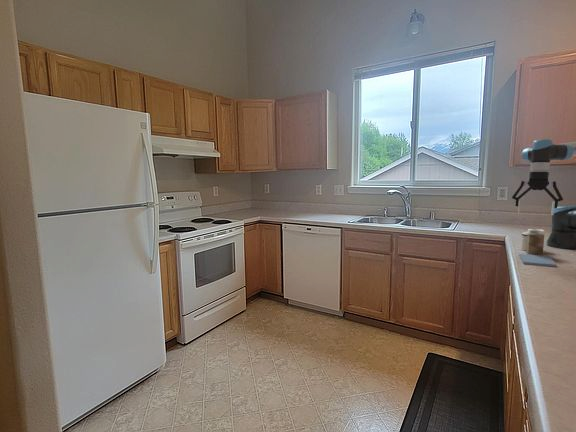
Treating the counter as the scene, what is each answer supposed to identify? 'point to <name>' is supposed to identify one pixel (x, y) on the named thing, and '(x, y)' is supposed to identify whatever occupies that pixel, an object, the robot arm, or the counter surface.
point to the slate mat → (537, 260)
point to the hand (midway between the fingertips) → (534, 214)
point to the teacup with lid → (524, 241)
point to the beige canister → (535, 241)
